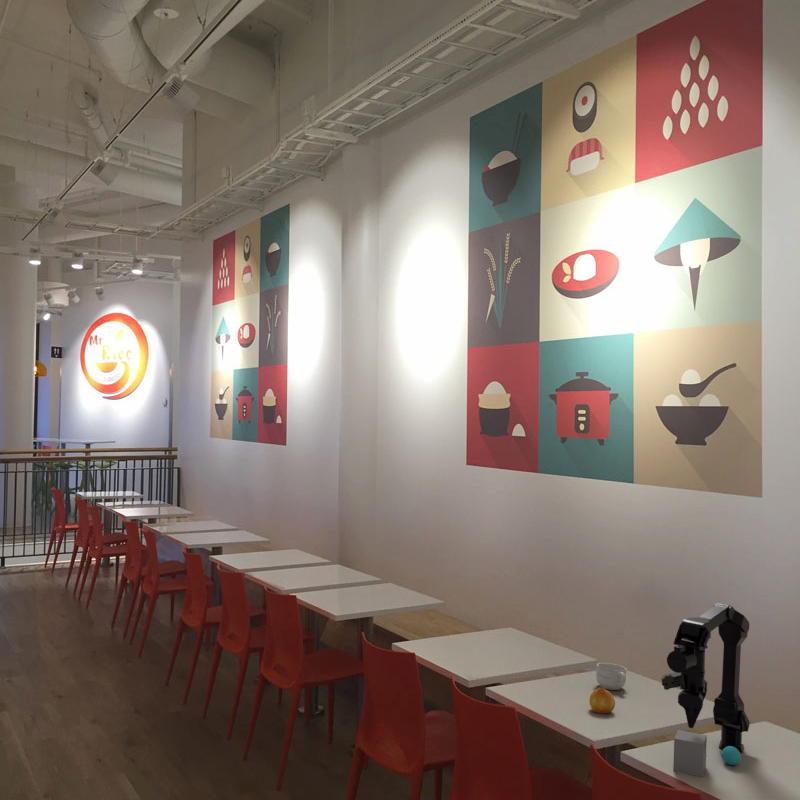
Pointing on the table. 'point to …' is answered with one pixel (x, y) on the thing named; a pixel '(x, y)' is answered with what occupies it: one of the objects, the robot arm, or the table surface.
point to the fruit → (602, 701)
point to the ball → (731, 755)
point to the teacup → (611, 676)
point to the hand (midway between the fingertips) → (692, 722)
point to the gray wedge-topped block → (690, 753)
